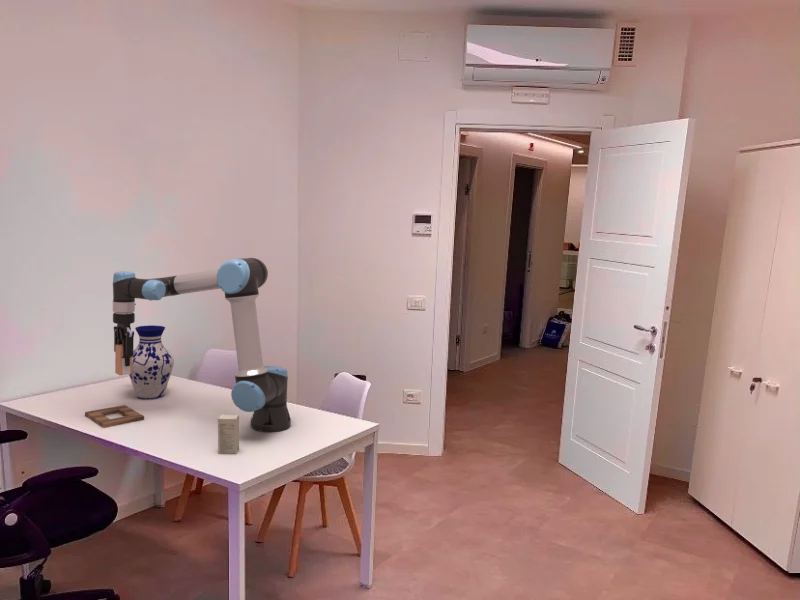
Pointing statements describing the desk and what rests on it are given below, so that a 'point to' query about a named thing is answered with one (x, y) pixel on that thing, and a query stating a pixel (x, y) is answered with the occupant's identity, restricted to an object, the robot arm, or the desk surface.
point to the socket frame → (104, 421)
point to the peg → (120, 359)
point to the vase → (150, 363)
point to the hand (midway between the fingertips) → (123, 372)
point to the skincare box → (228, 434)
